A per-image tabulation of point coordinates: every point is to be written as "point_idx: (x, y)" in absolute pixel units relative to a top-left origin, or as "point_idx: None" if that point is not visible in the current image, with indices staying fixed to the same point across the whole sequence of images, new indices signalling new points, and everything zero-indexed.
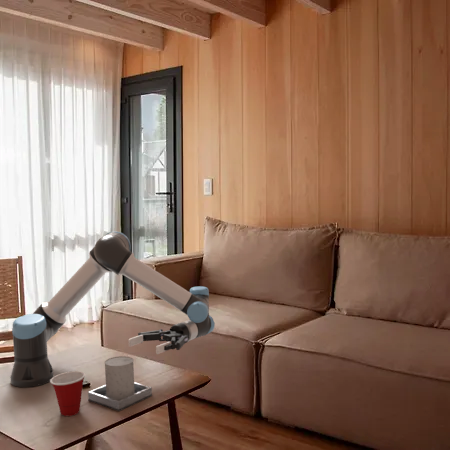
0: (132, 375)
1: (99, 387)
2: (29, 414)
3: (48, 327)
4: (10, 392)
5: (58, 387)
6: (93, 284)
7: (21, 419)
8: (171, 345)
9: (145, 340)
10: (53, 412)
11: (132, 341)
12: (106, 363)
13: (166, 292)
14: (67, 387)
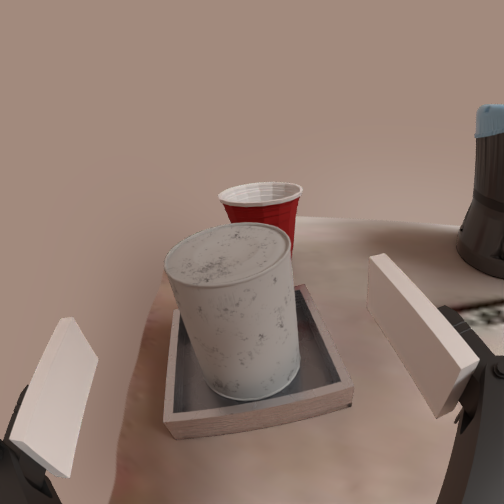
0: (184, 322)
1: (315, 310)
2: (317, 234)
3: None
4: (440, 228)
5: (247, 194)
6: None
7: (305, 227)
8: (9, 432)
9: (456, 440)
10: (295, 254)
11: (380, 294)
12: (249, 227)
13: None
14: (232, 200)
